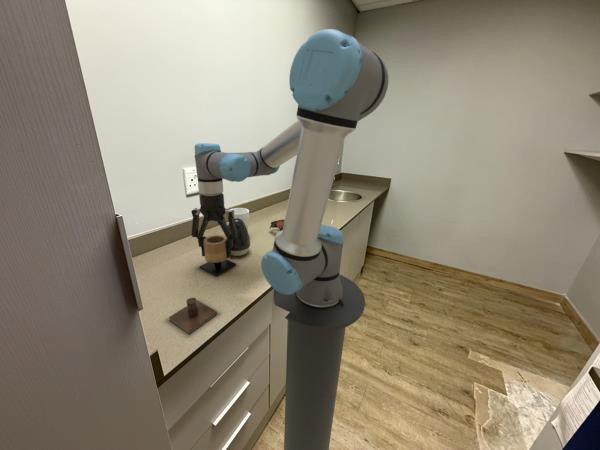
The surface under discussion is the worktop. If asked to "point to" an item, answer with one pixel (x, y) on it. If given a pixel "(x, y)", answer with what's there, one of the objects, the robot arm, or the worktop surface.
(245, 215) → the foam cup
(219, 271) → the square base peg
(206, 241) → the maple ring
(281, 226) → the pottery mug
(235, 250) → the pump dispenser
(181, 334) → the worktop surface
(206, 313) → the low peg stand
